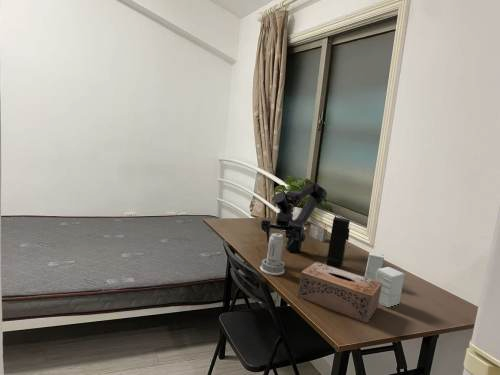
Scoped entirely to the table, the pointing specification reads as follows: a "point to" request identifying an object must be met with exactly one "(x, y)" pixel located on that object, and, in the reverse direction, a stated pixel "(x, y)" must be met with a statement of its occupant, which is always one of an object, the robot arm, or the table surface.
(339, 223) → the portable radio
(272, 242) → the energy drink can
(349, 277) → the tissue box cover
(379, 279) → the supplement box
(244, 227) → the table surface
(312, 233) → the architectural model on board
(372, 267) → the skincare box
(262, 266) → the dock
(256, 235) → the table surface
